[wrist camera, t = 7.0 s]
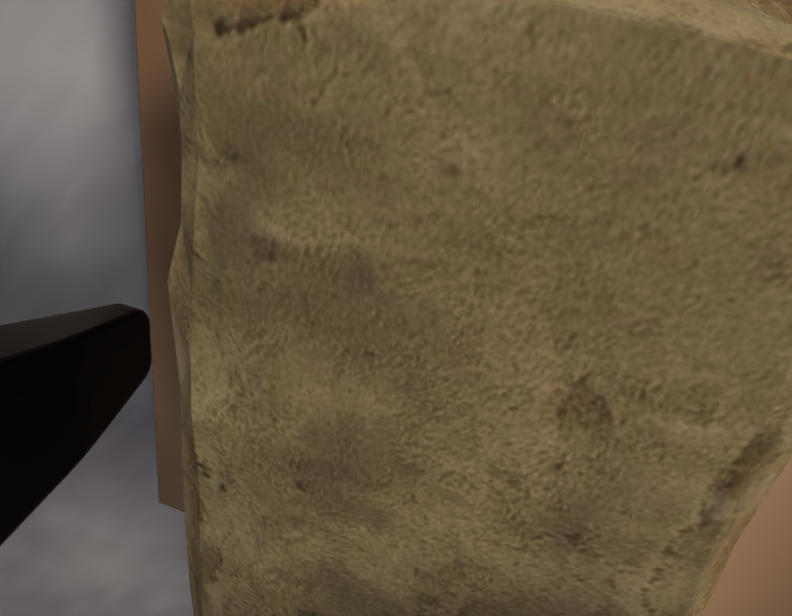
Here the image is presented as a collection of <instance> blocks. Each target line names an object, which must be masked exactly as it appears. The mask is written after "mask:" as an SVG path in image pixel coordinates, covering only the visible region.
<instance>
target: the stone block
mask: <svg viewBox="0 0 792 616" xmlns="http://www.w3.org/2000/svg"><path fill="white" fill-rule="evenodd" d="M161 21H162V26H163V32H164V37H165V43H166V48H167V53H168V59H169V64H170V70H171V75H172V81H173V87H174V94H175V100H176V106H177V113H178V119H179V125H180V132H181V148H182V190H181V224H180V228H179V233H178V237H177V241H176V246H175V250H174V254H173V259H172V263H171V267H170V272H169V276H168V280H167V283H168V291H169V299H170V307H171V315H172V323H173V331H174V339H175V347H176V356H177V365H178V374H179V383H180V407H181V445H182V466H183V486H184V506H185V524H186V538H187V551H188V564H189V577H190V589H191V596H192V604H193V611H194V616H702V614H703V612H704V610H705V608H706V606H707V604H708V602H709V600H710V598H711V596H712V594H713V592H714V590H715V588H716V585H717V583H718V581H719V579H720V576H721V574H722V572H723V570H724V567H725V565H726V563H727V561H728V558H729V556H730V554H731V552H732V549H733V547H734V545H735V543H736V542H737V540H738V539H739V537H740V536H741V534H742V532H743V531H744V529H745V528H746V526H747V525H748V523H749V522H750V520H751V518H752V517H753V515H754V514H755V512H756V511H757V509H758V508H759V506H760V505H761V503H762V501H763V500H764V498H765V497H766V495H767V494H768V492H769V491H770V489H771V488H772V486H773V484H774V483H775V481H776V480H777V478H778V477H779V475H780V474H781V472H782V471H783V469H784V468H785V466H786V465H787V463H788V461H789V460H790V458H791V457H792V0H169V2H168V3H167V5H166V7H165V9H164V11H163V13H162V15H161Z"/></svg>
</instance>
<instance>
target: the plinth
mask: <svg viewBox="0 0 792 616" xmlns="http://www.w3.org/2000/svg"><path fill="white" fill-rule="evenodd" d="M168 2H169V0H135V15H136V36H137V56H138V77H139V98H140V119H141V139H142V160H143V181H144V201H145V222H146V243H147V264H148V284H149V305H150V326H151V346H152V367H153V388H154V409H155V429H156V450H157V471H158V491H159V502H160V503H163V504H165V505H168V506H171V507H173V508H176V509H178V510H181V511H184V512H185V506H184V486H183V466H182V445H181V407H180V383H179V374H178V365H177V356H176V347H175V339H174V331H173V323H172V315H171V307H170V299H169V291H168V283H167V280H168V276H169V272H170V267H171V263H172V259H173V254H174V250H175V246H176V241H177V237H178V233H179V228H180V224H181V190H182V148H181V132H180V125H179V119H178V113H177V106H176V100H175V94H174V87H173V81H172V75H171V70H170V64H169V59H168V53H167V48H166V43H165V37H164V32H163V26H162V21H161V15H162V13H163V11H164V9H165V7H166V5H167V3H168ZM702 616H792V457H791V458H790V460H789V461H788V463H787V465H786V466H785V468H784V469H783V471H782V472H781V474H780V475H779V477H778V478H777V480H776V481H775V483H774V484H773V486H772V488H771V489H770V491H769V492H768V494H767V495H766V497H765V498H764V500H763V501H762V503H761V505H760V506H759V508H758V509H757V511H756V512H755V514H754V515H753V517H752V518H751V520H750V522H749V523H748V525H747V526H746V528H745V529H744V531H743V532H742V534H741V536H740V537H739V539H738V540H737V542H736V543H735V545H734V547H733V549H732V552H731V554H730V556H729V558H728V561H727V563H726V565H725V567H724V570H723V572H722V574H721V576H720V579H719V581H718V583H717V585H716V588H715V590H714V592H713V594H712V596H711V598H710V600H709V602H708V604H707V606H706V608H705V610H704V612H703V614H702Z"/></svg>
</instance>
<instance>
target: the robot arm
mask: <svg viewBox="0 0 792 616" xmlns="http://www.w3.org/2000/svg"><path fill="white" fill-rule="evenodd" d="M150 366H151V341H150V322H149V318H148V315H147V314H146V313H145V312H144V311H143V310H140V309H137V308H133V307H130V306H127V305H124V304H112V305H107V306H102V307H96V308H91V309H86V310H80V311H75V312H69V313H64V314H59V315H53V316H48V317H43V318H37V319H32V320H27V321H21V322H16V323H11V324H5V325H0V546H1V545H2V544H3V543H4V542H5V541H6V540H7V539H8V537H9V536H10V535H11V534H12V533H13V532H14V531H15V530H16V529H17V528H18V527H19V526H20V525H21V524H22V523H23V522H24V521H25V519H26V518H27V517H28V516H29V515H30V514H31V513H32V512H33V511H34V510H35V509H36V508H37V507H38V506H39V505H40V504H41V503H42V501H43V500H44V499H45V498H46V497H47V496H48V495H49V494H50V493H51V492H52V491H53V490H54V489H55V488H56V487H57V486H58V485H59V483H60V482H61V481H62V480H63V479H64V478H65V477H66V476H67V475H68V474H69V473H70V472H71V471H72V470H73V469H74V467H75V466H76V465H77V464H78V463H79V462H80V461H81V460H82V458H83V457H84V456H85V455H86V454H87V452H88V451H89V450H90V449H91V448H92V446H93V445H94V444H95V443H96V441H97V440H98V439H99V437H100V436H101V435H102V433H103V432H104V431H105V430H106V428H107V427H108V426H109V424H110V423H111V422H112V420H113V419H114V418H115V417H116V415H117V414H118V413H119V411H120V410H121V409H122V407H123V406H124V405H125V404H126V402H127V401H128V400H129V398H130V397H131V396H132V394H133V393H134V392H135V391H136V389H137V388H138V387H139V385H140V384H141V383H142V381H143V380H144V379H145V377H146V376H147V374H148V372H149V369H150Z"/></svg>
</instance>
